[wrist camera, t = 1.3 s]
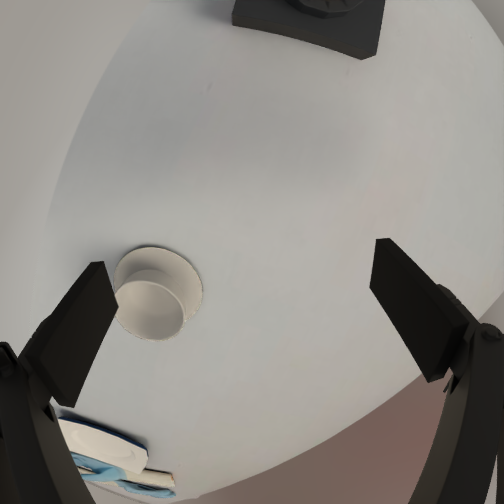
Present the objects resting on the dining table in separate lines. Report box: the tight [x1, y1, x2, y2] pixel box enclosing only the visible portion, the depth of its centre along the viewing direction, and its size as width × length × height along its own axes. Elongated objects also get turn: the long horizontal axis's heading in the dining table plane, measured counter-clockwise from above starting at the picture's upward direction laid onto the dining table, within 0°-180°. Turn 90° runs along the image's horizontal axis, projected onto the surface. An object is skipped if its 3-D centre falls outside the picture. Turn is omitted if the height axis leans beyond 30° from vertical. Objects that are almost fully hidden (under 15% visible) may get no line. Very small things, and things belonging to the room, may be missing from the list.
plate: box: [58, 417, 148, 474], centre depth 47 cm, size 20×20×3 cm
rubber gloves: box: [70, 452, 176, 498], centre depth 56 cm, size 27×33×6 cm
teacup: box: [114, 247, 203, 341], centre depth 29 cm, size 10×10×5 cm
